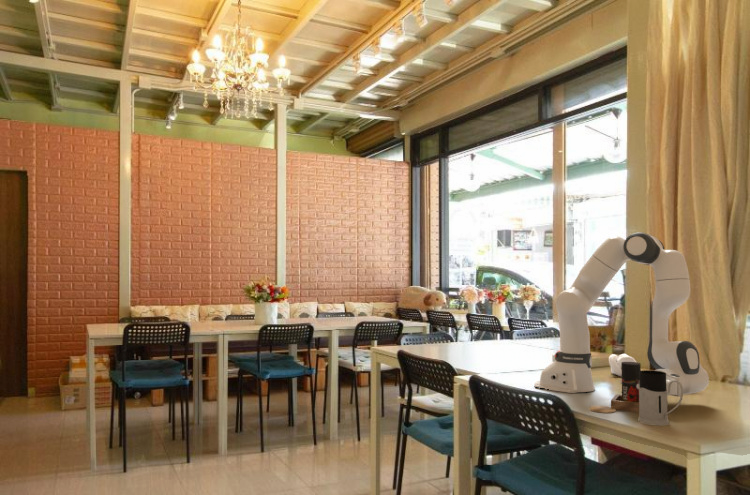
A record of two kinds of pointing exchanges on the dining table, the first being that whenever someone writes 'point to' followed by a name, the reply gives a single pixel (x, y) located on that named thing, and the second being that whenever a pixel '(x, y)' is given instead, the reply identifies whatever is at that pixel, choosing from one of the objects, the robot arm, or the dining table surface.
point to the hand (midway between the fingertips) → (629, 384)
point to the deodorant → (630, 381)
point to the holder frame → (624, 404)
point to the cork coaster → (602, 409)
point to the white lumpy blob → (619, 363)
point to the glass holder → (654, 397)
